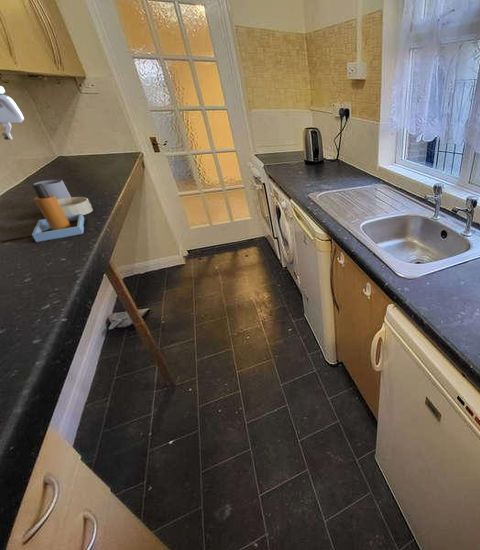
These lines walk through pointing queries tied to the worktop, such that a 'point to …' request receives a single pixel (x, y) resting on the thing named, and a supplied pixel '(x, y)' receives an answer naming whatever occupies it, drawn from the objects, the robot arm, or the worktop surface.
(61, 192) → the cup
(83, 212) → the bowl
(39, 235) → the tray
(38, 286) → the worktop surface
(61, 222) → the orange capped cylinder
